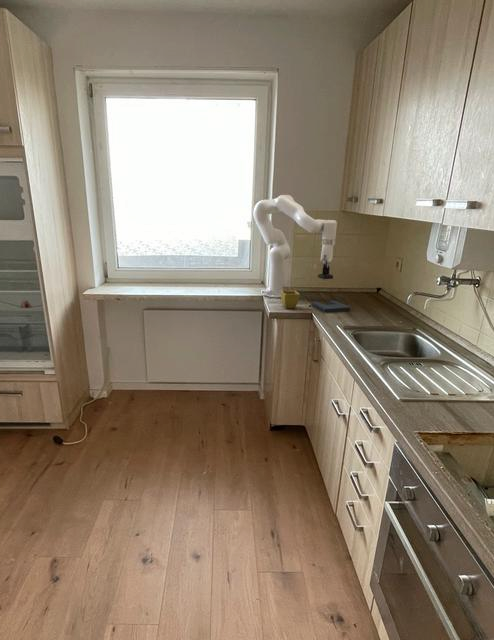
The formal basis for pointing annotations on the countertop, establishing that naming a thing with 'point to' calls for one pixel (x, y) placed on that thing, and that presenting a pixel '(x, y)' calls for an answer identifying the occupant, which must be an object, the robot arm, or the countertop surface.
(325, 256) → the robot arm
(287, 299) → the flower pot
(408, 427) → the countertop surface
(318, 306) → the big pad
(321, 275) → the dark stamp
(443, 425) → the countertop surface
